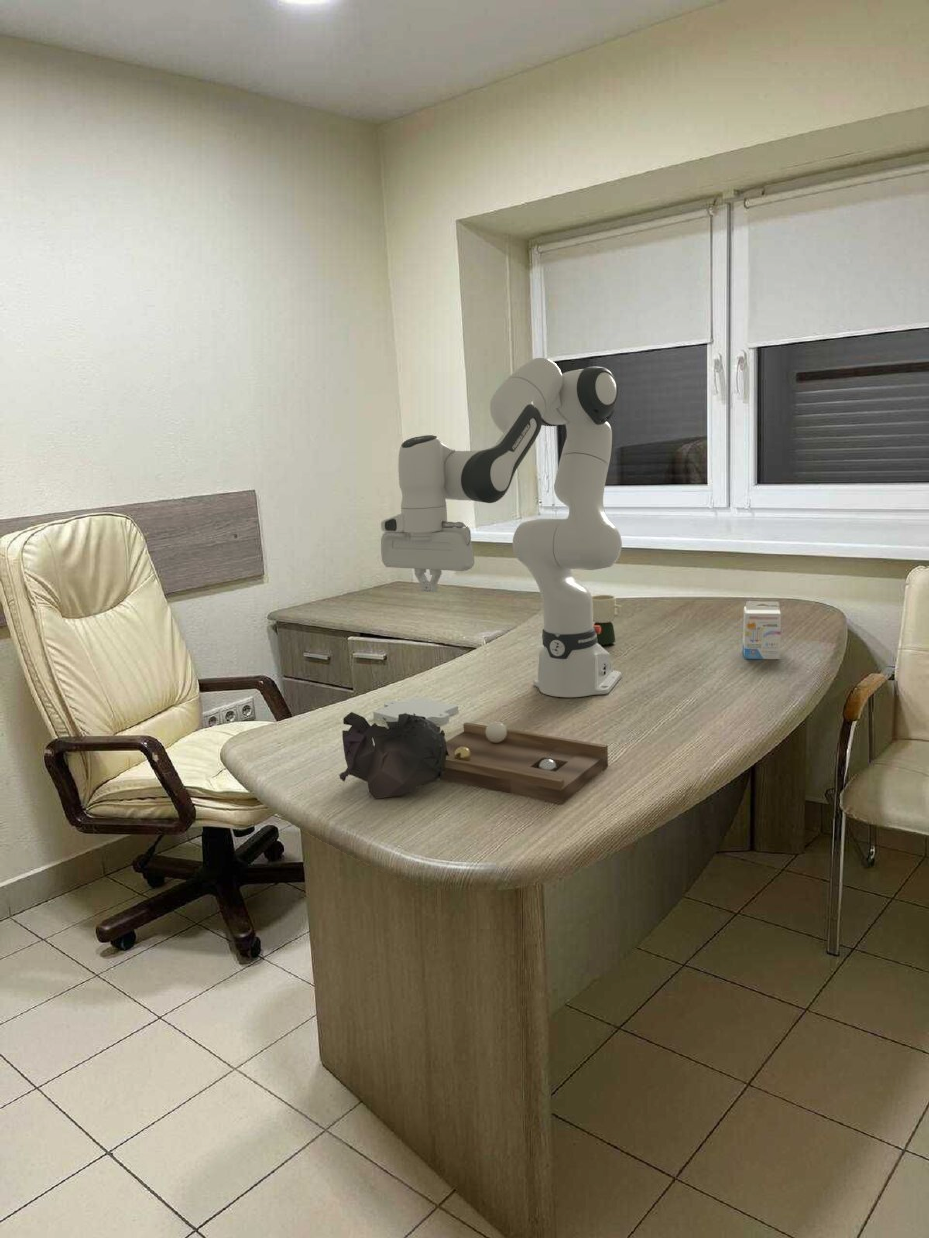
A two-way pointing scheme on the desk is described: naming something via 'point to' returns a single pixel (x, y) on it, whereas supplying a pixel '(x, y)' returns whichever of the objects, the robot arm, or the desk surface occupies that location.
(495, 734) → the cream ball
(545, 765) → the steel ball
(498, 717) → the desk surface
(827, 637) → the desk surface
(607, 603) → the character mug
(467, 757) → the brass ball
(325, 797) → the desk surface
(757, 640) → the ink box
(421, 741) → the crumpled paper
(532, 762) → the board
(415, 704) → the mounting plate
